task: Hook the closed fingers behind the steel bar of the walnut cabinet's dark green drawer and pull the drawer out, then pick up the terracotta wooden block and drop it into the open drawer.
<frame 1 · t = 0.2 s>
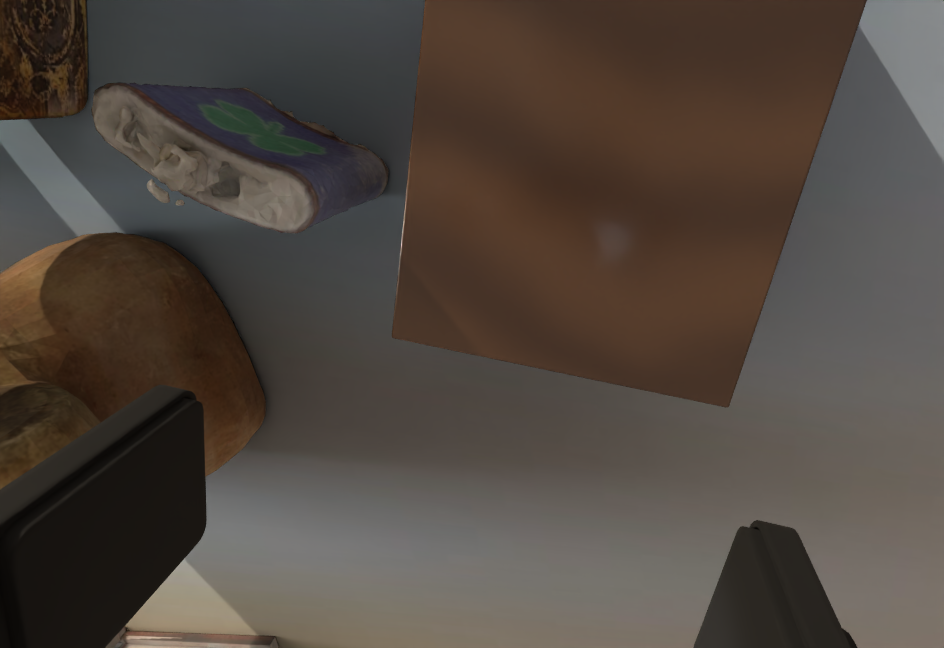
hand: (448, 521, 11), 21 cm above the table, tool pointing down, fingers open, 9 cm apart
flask: (306, 145, 31), on the table
cabinet: (596, 150, 28), on the table
ceramic vessel: (111, 365, 38), on the table
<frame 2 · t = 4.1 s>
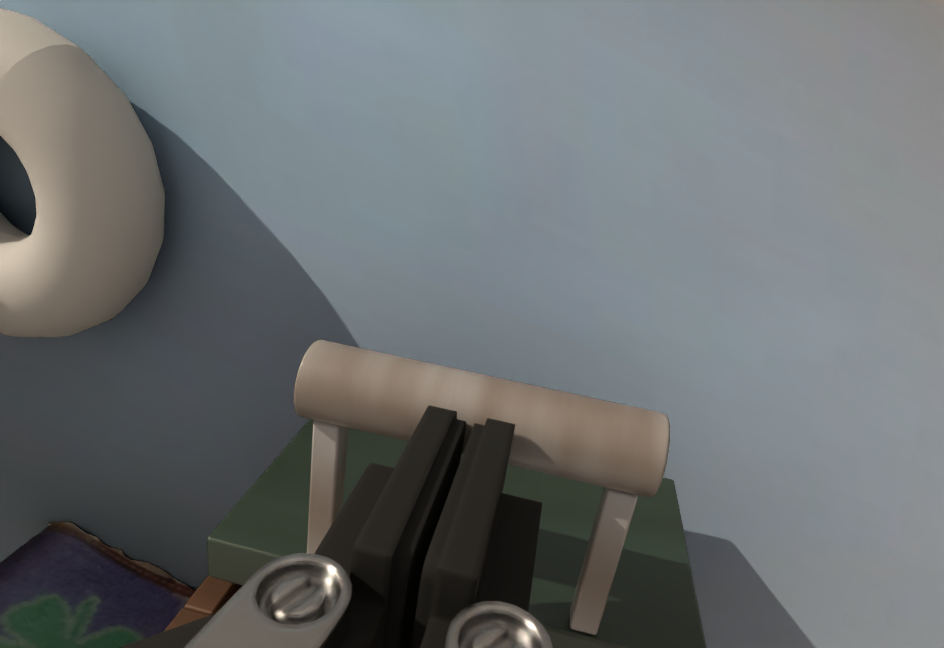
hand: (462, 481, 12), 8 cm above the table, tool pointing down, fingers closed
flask: (142, 576, 27), on the table
cabinet: (460, 630, 24), on the table
drawer: (453, 621, 18), point 5 cm above the table, slide at 1.0 cm, touching gripper
donut: (55, 175, 20), on the table
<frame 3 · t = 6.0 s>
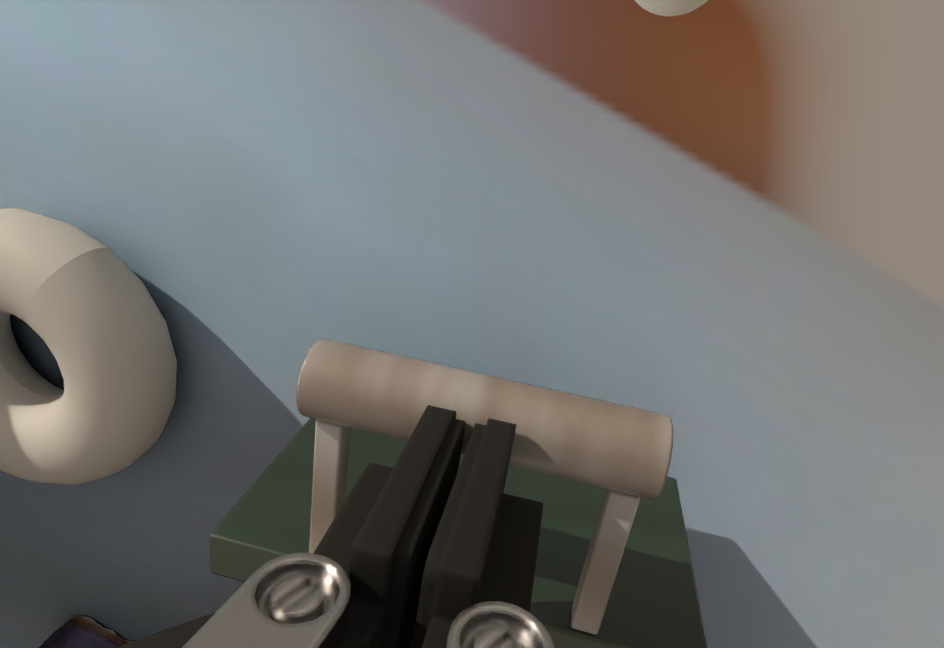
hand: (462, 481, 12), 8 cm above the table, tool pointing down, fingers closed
drawer: (454, 618, 18), point 5 cm above the table, slide at 7.0 cm, touching gripper
donut: (78, 332, 23), on the table
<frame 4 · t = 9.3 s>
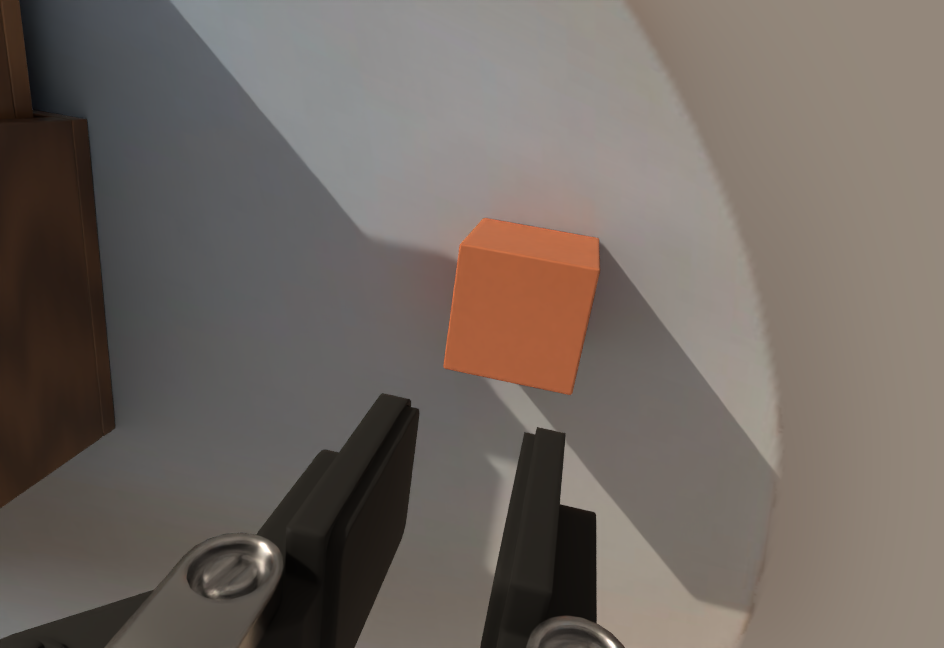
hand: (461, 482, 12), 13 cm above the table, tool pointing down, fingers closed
block: (530, 282, 24), on the table
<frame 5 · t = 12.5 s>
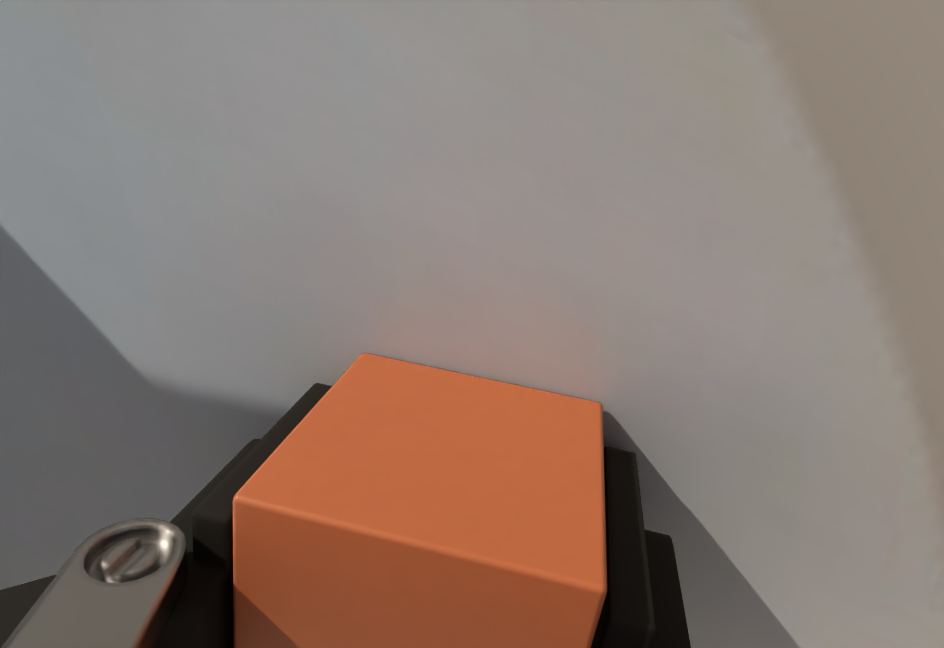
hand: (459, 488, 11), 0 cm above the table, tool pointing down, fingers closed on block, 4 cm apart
block: (463, 477, 12), on the table, touching gripper
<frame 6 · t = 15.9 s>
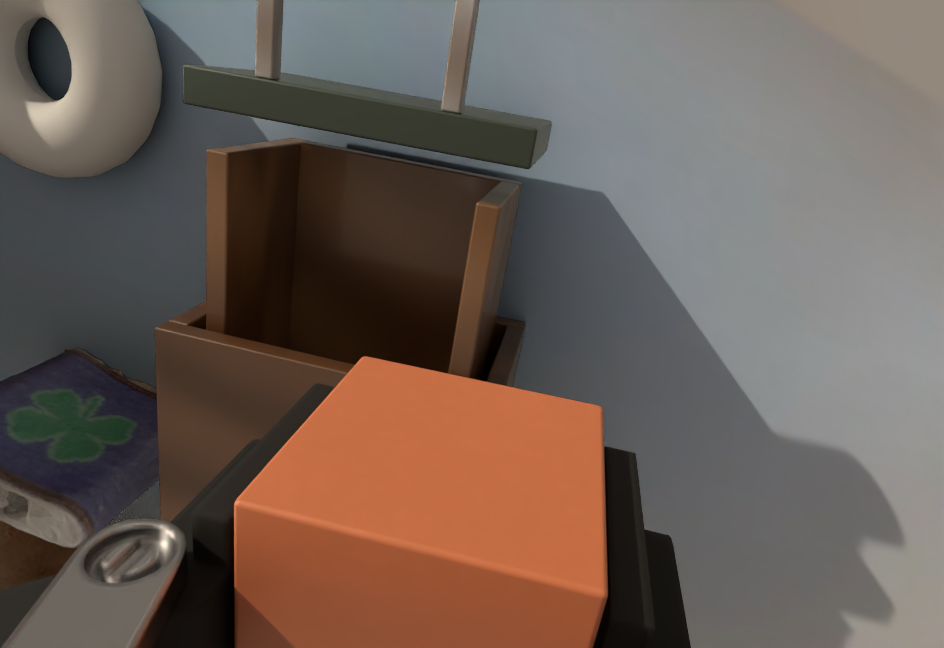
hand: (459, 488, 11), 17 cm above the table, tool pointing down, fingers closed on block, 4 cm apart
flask: (136, 396, 34), on the table
block: (463, 480, 12), point 17 cm above the table, touching gripper
cabinet: (379, 426, 32), on the table
drawer: (374, 210, 23), point 5 cm above the table, slide at 7.6 cm
donut: (82, 62, 28), on the table
when the fingers open (7 cm above the table, at t = 19.4 s): block drops 5 cm, resting on drawer.
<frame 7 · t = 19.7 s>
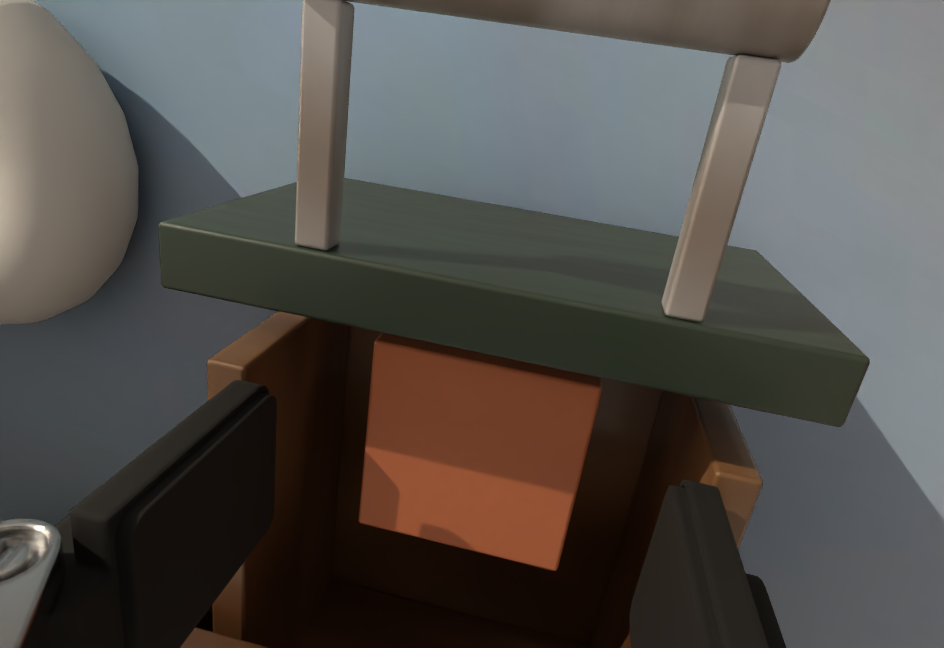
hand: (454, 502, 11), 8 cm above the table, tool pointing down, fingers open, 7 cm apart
block: (500, 371, 16), point 2 cm above the table, touching drawer
cabinet: (456, 638, 23), on the table
drawer: (484, 414, 14), point 5 cm above the table, slide at 7.7 cm, touching block
donut: (23, 151, 19), on the table
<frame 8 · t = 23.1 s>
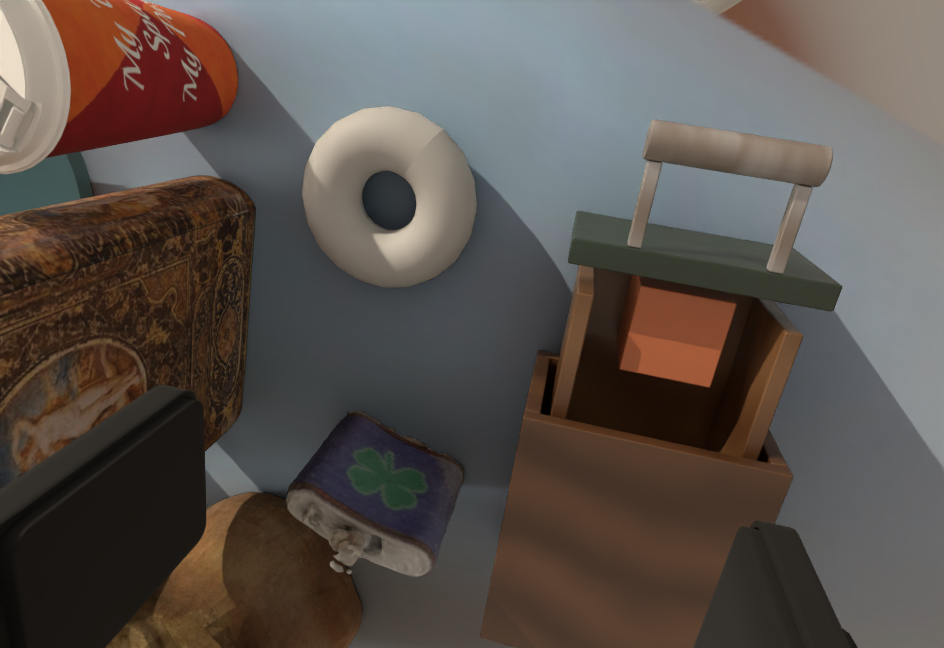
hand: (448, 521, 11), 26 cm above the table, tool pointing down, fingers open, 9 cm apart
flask: (403, 448, 42), on the table
block: (666, 308, 33), point 2 cm above the table, touching drawer
book: (212, 300, 41), on the table
cabinet: (614, 471, 39), on the table
ceramic vessel: (240, 573, 49), on the table
drawer: (671, 323, 31), point 5 cm above the table, slide at 7.7 cm, touching block
coffee cup: (192, 72, 36), on the table
donut: (398, 195, 36), on the table
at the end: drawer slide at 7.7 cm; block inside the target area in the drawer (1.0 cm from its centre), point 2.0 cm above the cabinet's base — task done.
